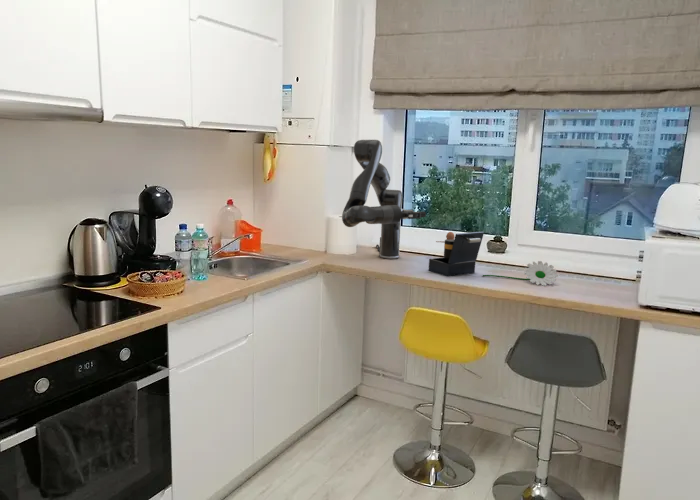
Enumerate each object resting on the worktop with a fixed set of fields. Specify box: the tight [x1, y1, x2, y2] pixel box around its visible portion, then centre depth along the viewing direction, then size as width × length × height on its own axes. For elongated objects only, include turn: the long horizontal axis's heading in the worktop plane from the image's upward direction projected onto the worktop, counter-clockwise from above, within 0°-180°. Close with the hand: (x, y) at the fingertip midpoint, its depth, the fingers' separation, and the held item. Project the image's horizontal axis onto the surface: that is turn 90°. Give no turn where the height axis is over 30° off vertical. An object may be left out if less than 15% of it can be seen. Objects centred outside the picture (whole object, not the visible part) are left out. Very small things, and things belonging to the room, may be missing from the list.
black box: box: [428, 256, 476, 277], centre depth 236 cm, size 13×16×5 cm
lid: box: [448, 231, 485, 264], centre depth 226 cm, size 13×16×4 cm
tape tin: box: [443, 239, 454, 264], centre depth 236 cm, size 6×6×13 cm
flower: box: [482, 260, 559, 287], centre depth 224 cm, size 13×6×30 cm
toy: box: [435, 231, 455, 244], centre depth 254 cm, size 13×4×15 cm, turn 84°
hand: (418, 213), depth 227 cm, fingers open, 8 cm apart
